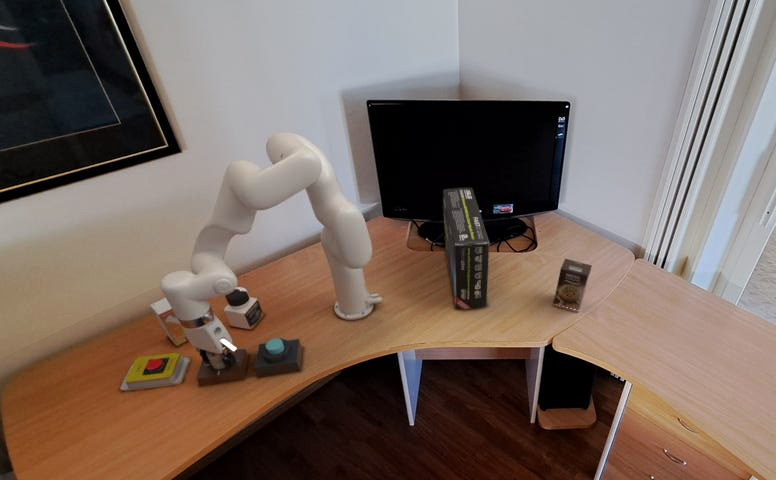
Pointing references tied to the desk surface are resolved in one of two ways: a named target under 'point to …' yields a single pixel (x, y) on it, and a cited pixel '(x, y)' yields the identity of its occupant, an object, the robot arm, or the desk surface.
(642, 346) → the desk surface
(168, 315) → the small box
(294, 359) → the button housing
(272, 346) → the teal button cap
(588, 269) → the coffee box
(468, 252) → the router box
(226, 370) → the rotary knob switch
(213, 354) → the dial
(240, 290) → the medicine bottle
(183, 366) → the emergency button
